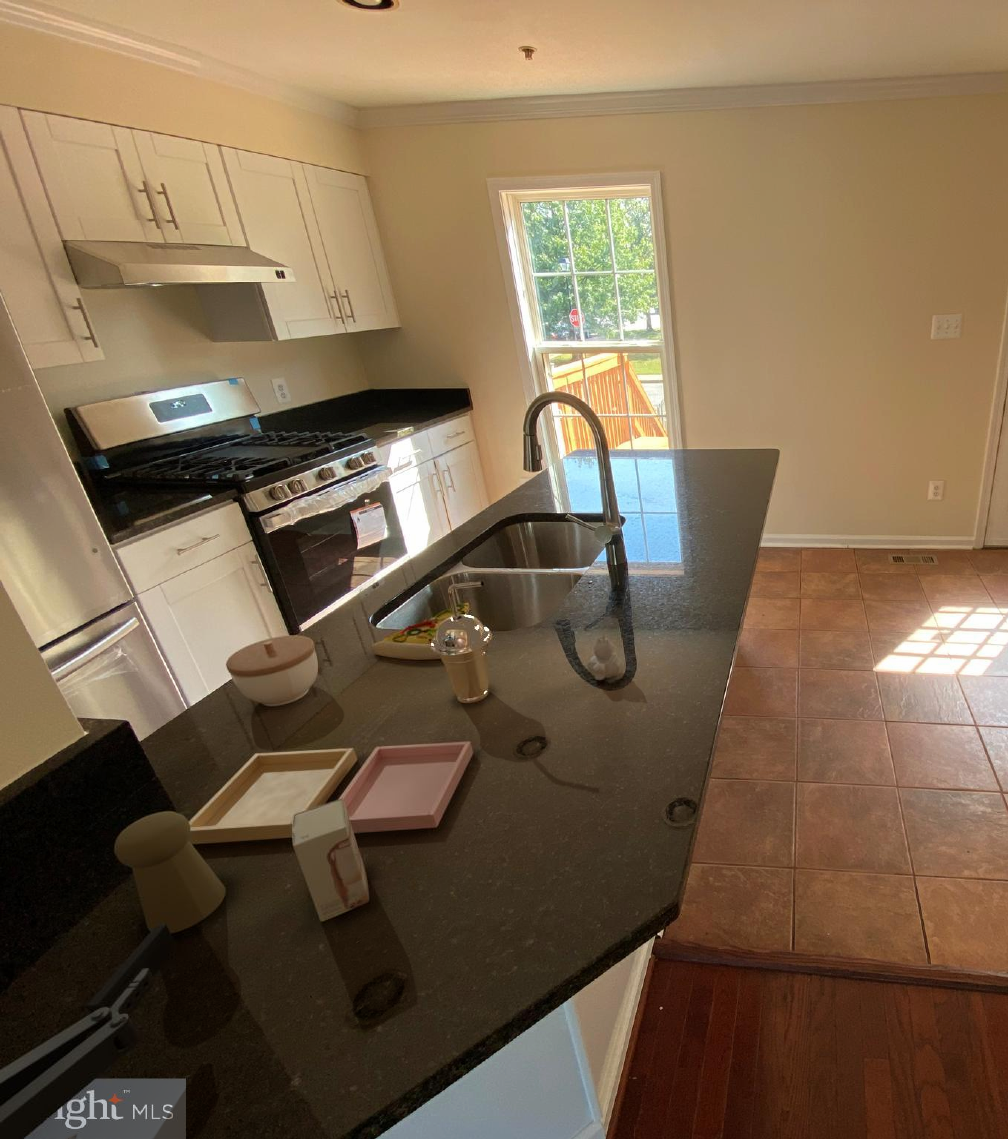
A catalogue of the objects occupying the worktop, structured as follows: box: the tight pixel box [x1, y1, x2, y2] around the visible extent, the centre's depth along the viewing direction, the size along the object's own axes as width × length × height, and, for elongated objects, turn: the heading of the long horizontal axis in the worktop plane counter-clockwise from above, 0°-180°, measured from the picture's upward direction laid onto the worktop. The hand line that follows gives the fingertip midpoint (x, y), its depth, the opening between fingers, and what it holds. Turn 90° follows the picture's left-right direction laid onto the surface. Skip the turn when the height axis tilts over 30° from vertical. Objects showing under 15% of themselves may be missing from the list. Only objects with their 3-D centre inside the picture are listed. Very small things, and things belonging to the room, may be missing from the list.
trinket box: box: [225, 634, 319, 707], centre depth 94 cm, size 11×11×9 cm
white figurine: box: [587, 632, 623, 681], centre depth 100 cm, size 5×7×8 cm
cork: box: [113, 810, 227, 934], centre depth 60 cm, size 6×6×11 cm
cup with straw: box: [431, 580, 493, 704], centre depth 92 cm, size 8×9×20 cm
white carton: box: [291, 798, 370, 922], centre depth 62 cm, size 5×4×10 cm
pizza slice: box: [371, 602, 470, 661], centre depth 114 cm, size 16×21×3 cm
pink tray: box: [337, 741, 474, 834], centre depth 77 cm, size 12×13×2 cm
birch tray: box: [188, 747, 358, 845], centre depth 75 cm, size 12×13×2 cm
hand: (79, 942), depth 51 cm, fingers open, 13 cm apart
